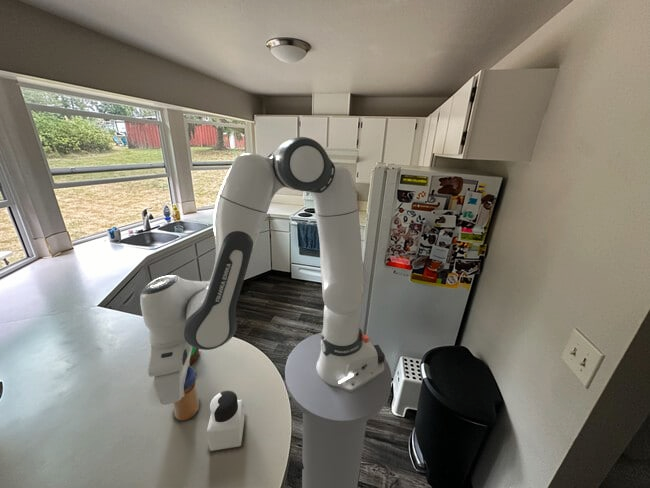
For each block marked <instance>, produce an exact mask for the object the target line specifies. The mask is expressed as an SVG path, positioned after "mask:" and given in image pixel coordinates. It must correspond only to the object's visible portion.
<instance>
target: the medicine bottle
mask: <svg viewBox="0 0 650 488" xmlns="http://www.w3.org/2000/svg"><path fill="white" fill-rule="evenodd" d="M209 410H210V416H209V420H208V424H207V429H206V437H207V441H208V446H209V450H210V451H211V452H213V451H219V450H227V449H232V448H237V447H241V446H242V441H243V435H244V434H243V433H244V426H245V409H244V401H243V399H238V395H237V394H236V393H235V391H232V390H223V391H220V392H219V393H217V394H216V395H215V396H213V398H212V399H211V401H210V404H209Z"/></svg>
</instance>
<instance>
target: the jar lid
mask: <svg viewBox="0 0 650 488" xmlns="http://www.w3.org/2000/svg"><path fill="white" fill-rule="evenodd" d="M197 379H198V377H197V372H196V370H195V368H193V367H191V366H190V367H188V370H187V374H186V379H185V383H184V387H185V390H187V389H189V388H190V387H191V386H192V385H193V384H194V383H195V381H197Z"/></svg>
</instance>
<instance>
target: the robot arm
mask: <svg viewBox="0 0 650 488" xmlns="http://www.w3.org/2000/svg"><path fill="white" fill-rule="evenodd" d="M283 188H287V189H290V190H293V191H299V192H308V193H310V196H311V198H312V201H313V206H314V214H315V220H316V227H317V233H318V240H319V259H320V261H319V262H320V277H321V278H320V279H321V289H322V291H321V293H322V300H323V304H324V305H323V306H324V307H323V323H322V330H321V333H322V334H321V353H320V357H319V359H318V361H317V365H316V369H317V373H318V375H319V376H320V378H321V379H322V380H323V381H325V382H326V383H328V384H330V385H333V386H337V387H341V388H343V389H344V390H346V391H348V392H352V391H354V390H356V389H357V388H359V387H360V386H362V385H364V384H365V383H367V382H368V381H370V380H371V379H373V378H374V377H376V376H378V375H379V374H381V373H382V372H384V363H383V362H384V359H386V355H385V353H384V352H383V350H382V348H381V347H380V345H379V344H373V343H372V341H371V340H370V339H371V338H370V337H369V336H368V335H367V334H364V333H363V330H362V329H361V327H360V326H361V316H362V304H363V303H362V302H363V299H364V296H365V292H366V291H365V289H366V285H365V284H366V282H365V279H366V278H365V277H366V276H365V264H364V261H363V249H362V235H361V224H360V223H361V221H360V213H359V201H358V196H357V192H356V186H355V182H354V179H353V176H352V172H351V171H350V170H349V169H348V168H346V167H344V166H342V165H339V164H338V165H337V164H334V163H333V161H332V160H331V158H330V157H329V155H328V153H327V152H326V149H324V147H323V146H322V145H321V144H320V143H319V142H318V141H317V140H315V139H313V138H311V137H307V136H297V137H294V138H291V139H288V140H286V141H284V142H282V143H281V144H280V145H279V146H278V147H277V148H276V149H275V150H274V151H272V152H271V153H270V154H269V155H268V156H263V155H261V154H259V153H258V154H257V153H253V152H244V153H241V154H239V155H238V156H237V157H235V159H234V160H233V162H232V164H231V166H230V168H229V170H228V171H227V173H226V176H225V178H224V180H223V182H222V185H221V186H220V190H219V192H218V195H217V199H216V202H215V207H214V213H213V220H212V221H213V222H212V228H213V236H214V242H215V260H214V266H213V269H212V273H211V277H210V279H207V280H202V281H201V280H200V281H199V280H190V279H186V278H182V277H180V276H179V275H173V274H171V275H164V276H160V277H157V278H156V279H153V280H152V281H151V282H148V283H147V285H145V287H144V288H143V289H142V291H141V292H140V296H139V300H140V301H139V302H140V309H141V315H142V319H143V322H144V325H145V326H146V328H147V329H148V341H149V344H150V346H149V351H150V355H149V362H148V366H147V373H148V376H149V377H150V378H151V377H153V386H154V390H155V393H156V395H157V398H158V401H159V403H160V404H161V405H163V406H165V405H171V404H172V405H173V403H175V402H178V401H180V400H181V397H184V395H185V387H184V383H185V379H186V374H187V370H188V367H191V364H189V362H190V356H191V351H192V347H195V348H198V349H199V350H204V351H208V350H209V351H210V350H214V349H217V348H218V349H219V348H220V347H222V346H224V345H225V344H227V343H228V342H229V341H231V339H232V338H233V337H234V336H235V334H236V332H237V328H238V321H237V317H236V316H237V315H236V314H237V313H236V311H237V310H236V309H237V305H238V301H239V297H240V294H241V291H242V287H243V284H244V281H245V277H246V274H247V270H248V267H249V264H250V260H251V257H252V253H253V251H254V249H255V246H256V243H257V240H258V237H259V235H260V234H261V233H260V232H261V230H262V228H263V225H264V222H265V220H266V217H267V215H268V212H269V210H270V206H271V203H272V200H273V198H274V197H275V195H276V194H277V192H279V190H280V191H281V189H283ZM380 363H381V364H380ZM352 385H354V386H352Z"/></svg>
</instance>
